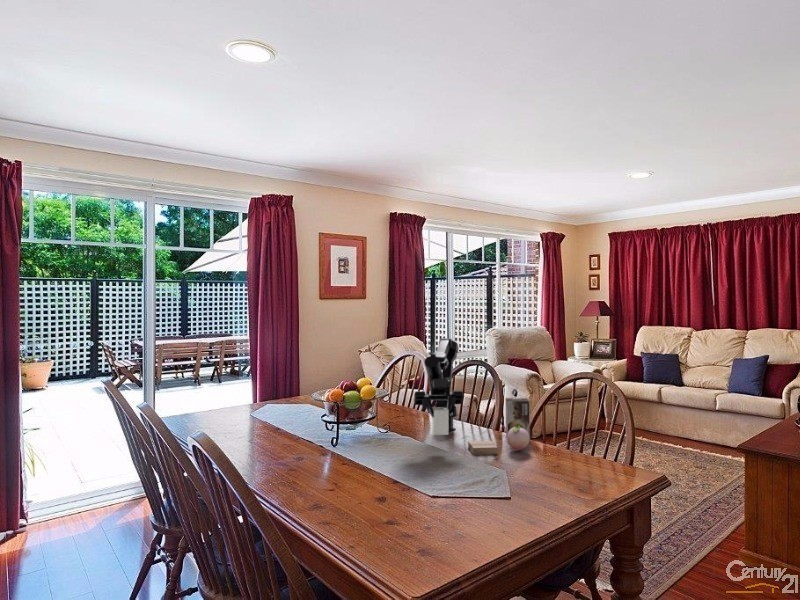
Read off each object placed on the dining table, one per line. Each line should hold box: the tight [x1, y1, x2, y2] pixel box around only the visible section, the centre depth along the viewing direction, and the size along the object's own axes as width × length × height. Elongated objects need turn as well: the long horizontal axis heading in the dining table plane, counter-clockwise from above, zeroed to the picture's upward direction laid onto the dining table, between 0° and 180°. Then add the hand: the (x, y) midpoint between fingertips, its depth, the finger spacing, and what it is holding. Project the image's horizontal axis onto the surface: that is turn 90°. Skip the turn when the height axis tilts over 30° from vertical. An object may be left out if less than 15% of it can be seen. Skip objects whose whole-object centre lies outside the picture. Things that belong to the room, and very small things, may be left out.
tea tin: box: [431, 406, 450, 436], centre depth 192 cm, size 4×6×10 cm
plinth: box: [467, 440, 498, 456], centre depth 193 cm, size 9×9×2 cm
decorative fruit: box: [506, 425, 530, 452], centre depth 192 cm, size 9×8×10 cm
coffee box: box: [505, 397, 531, 441], centre depth 211 cm, size 9×6×16 cm
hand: (440, 416), depth 191 cm, fingers closed on tea tin, 5 cm apart
